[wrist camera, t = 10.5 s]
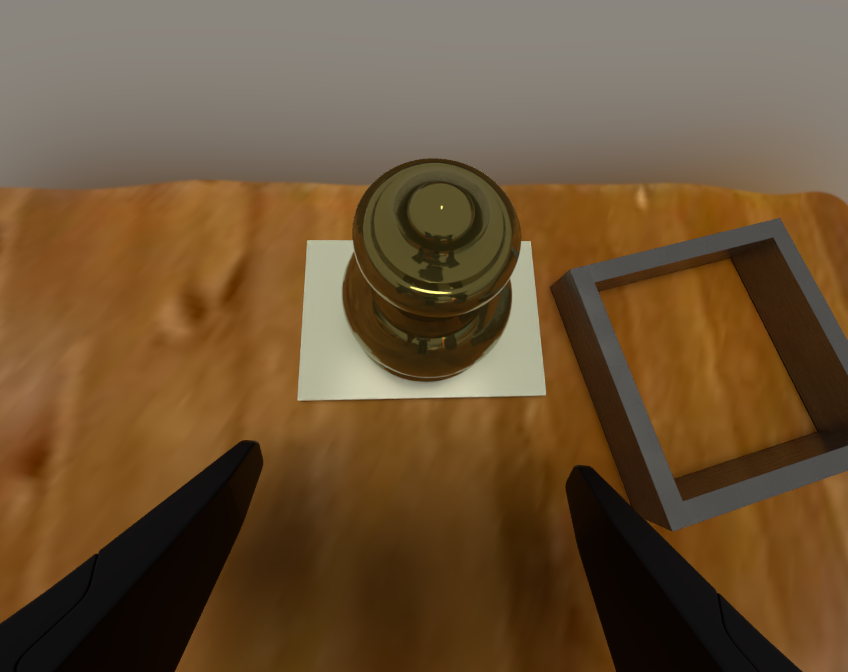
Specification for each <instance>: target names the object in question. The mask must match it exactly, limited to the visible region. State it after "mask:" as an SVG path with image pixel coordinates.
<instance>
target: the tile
mask: <svg viewBox="0 0 848 672" xmlns="http://www.w3.org/2000/svg"><path fill="white" fill-rule="evenodd" d="M353 251H354V249H353V240H307V255H306V271H305V287H304V304H303V320H302V336H301V352H300V369H299V385H298V401H324V400H373V399H421V398H469V397H518V396H545V395H546V387H545V378H544V368H543V358H542V348H541V339H540V329H539V319H538V309H537V300H536V290H535V280H534V271H533V261H532V251H531V241H521V249H520V254H519V258H518V261H517V264H516V267H515V269H514V271H513V274H512V275H511V277H510V279H511V284H512V309H511V314H510V318H509V321H508V324H507V327H506V329H505V331H504V333H503V335H502V337H501V338H500V340H499V342H498V343H497V344H496V346H495V347H494V348H493V349H492V350H491V351H490V352H489V354H487V355H486V356H485V357H484V358H483V359H482V360H480V361H479V362H478V363H476V364H475V365H473V366H472V367H471V368H469V369H468V370H466V371H464V372H463V373H461V374H459V375H457V376H454V377H452V378H449V379H447V380H444V381H440V382H435V383H413V382H408V381H404V380H401V379H399V378H396V377H394V376H392V375H390V374H389V373H387V372H385V371H384V370H383V369H381V368H380V367H379V366H378V365H377V364H376V363H374V362H373V361H372V360H371V359H370V358H369V357H368V356H367V354H366V353H365V352H364V351H363V349H362V348H361V346H360V345H359V343H358V342H357V341H356V339H355V338H354V336H353V335H352V333H351V331H350V329H349V327H348V324H347V322H346V319H345V316H344V312H343V307H342V299H341V290H342V281H343V275H344V272H345V268H346V265H347V263H348V261H349V259H350V256H351V255H352V253H353Z"/></svg>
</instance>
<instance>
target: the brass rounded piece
mask: <svg viewBox="0 0 848 672" xmlns="http://www.w3.org/2000/svg"><path fill="white" fill-rule="evenodd" d="M352 236H353V249H354V251H353V253H352V255H351V256H350V259H349V261H348V263H347V265H346V268H345V272H344V275H343V281H342V290H341V299H342V307H343V312H344V316H345V319H346V322H347V324H348V327H349V329H350V331H351V333H352V335H353V336H354V338H355V339H356V341H357V342H358V343H359V345H360V346H361V348H362V349H363V351H364V352H365V353H366V354H367V356H368V357H369V358H370V359H371V360H372V361H373V362H374V363H376V364H377V365H378V366H379V367H380V368H381V369H383V370H384V371H385V372H387V373H389V374H390V375H392V376H394V377H396V378H399V379H401V380H404V381H408V382H413V383H435V382H440V381H444V380H447V379H449V378H452V377H454V376H457V375H459V374H461V373H463V372H464V371H466V370H468V369H469V368H471V367H472V366H473V365H475V364H476V363H478V362H479V361H480V360H482V359H483V358H484V357H485V356H486V355H487V354H489V352H490V351H491V350H492V349H493V348H494V347H495V346H496V344H497V343H498V342H499V340H500V338H501V337H502V335H503V333H504V331H505V329H506V327H507V324H508V321H509V318H510V314H511V309H512V284H511V279H510V277H511V275H512V274H513V271H514V269H515V267H516V264H517V261H518V258H519V254H520V249H521V228H520V223H519V219H518V216H517V213H516V210H515V208H514V206H513V204H512V202H511V201H510V199H509V197H508V196H507V195H506V193H505V192H504V191H503V189H502V188H501V187H500V186H499V185H498V184H497V183H496V182H495V181H494V180H492V179H491V178H490V177H489V176H487V175H486V174H484V173H483V172H481V171H479V170H478V169H476V168H473V167H472V166H469V165H467V164H464V163H461V162H458V161H453V160H448V159H438V158H429V159H419V160H414V161H410V162H406V163H404V164H401V165H398V166H396V167H394V168H392V169H390V170H389V171H387V172H385V173H384V174H383V175H381V176H380V177H379V178H378V179H376V180H375V181H374V182H373V183H372V184H371V186H370V187H369V188H368V189H367V190H366V192H365V193H364V195H363V196H362V198H361V200H360V202H359V204H358V206H357V209H356V212H355V216H354V220H353V229H352Z"/></svg>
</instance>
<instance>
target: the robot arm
mask: <svg viewBox="0 0 848 672" xmlns="http://www.w3.org/2000/svg"><path fill="white" fill-rule="evenodd" d="M262 467H263V457H262V453H261V449H260V445H259V443H258V442H257V441H251V440H243V441H241V442H239V443H238V444H236V445H235V446H234V447H233V448H231V449H230V450H229V451H227V452H226V453H225V454H224V455H222V456H221V457H220V458H218V459H217V460H216V461H214V462H213V463H212V464H211V465H209V466H208V467H207V468H205V469H204V470H203V471H202V472H200V473H199V474H198V475H196V476H195V477H194V478H193V479H191V480H190V481H189V482H187V483H186V484H185V485H184V486H182V487H181V488H180V489H178V490H177V491H176V492H174V493H173V494H172V495H171V496H169V497H168V498H167V499H165V500H164V501H163V502H162V503H160V504H159V505H158V506H156V507H155V508H154V509H153V510H151V511H150V512H149V513H147V514H146V515H145V516H143V517H142V518H141V519H140V520H138V521H137V522H136V523H134V524H133V525H132V526H131V527H129V528H128V529H127V530H125V531H124V532H123V533H122V534H120V535H119V536H118V537H116V538H115V539H114V540H113V541H111V542H110V543H109V544H107V545H106V546H105V547H103V548H102V549H101V550H100V551H99V553H98V554H94V555H93V556H92V557H90V558H89V559H88V560H87V561H85V562H84V563H83V564H81V565H80V566H79V567H77V568H76V569H75V570H74V571H72V572H71V573H70V574H68V575H67V576H66V577H64V578H63V579H62V580H60V581H59V582H58V583H56V584H55V585H54V586H52V587H51V588H50V589H48V590H47V591H46V592H44V593H43V594H41V595H40V596H39V597H37V598H36V599H34V600H33V601H32V602H30V603H29V604H27V605H26V606H25V607H23V608H22V609H20V610H19V611H18V612H16V613H15V614H13V615H12V616H10V617H9V618H8V619H6V620H5V621H3V622H2V623H0V672H175V670H176V668H177V666H178V663H179V661H180V659H181V657H182V655H183V653H184V651H185V648H186V646H187V644H188V642H189V640H190V638H191V635H192V633H193V631H194V629H195V627H196V625H197V622H198V620H199V618H200V616H201V614H202V612H203V609H204V607H205V605H206V603H207V601H208V599H209V596H210V594H211V592H212V590H213V588H214V586H215V583H216V581H217V579H218V577H219V575H220V573H221V571H222V568H223V566H224V564H225V562H226V560H227V558H228V555H229V553H230V551H231V549H232V547H233V545H234V542H235V540H236V538H237V536H238V534H239V531H240V529H241V527H242V525H243V522H244V519H245V517H246V514H247V511H248V508H249V505H250V502H251V499H252V496H253V494H254V491H255V488H256V485H257V482H258V479H259V476H260V473H261V470H262ZM566 494H567V499H568V504H569V509H570V513H571V518H572V523H573V528H574V533H575V538H576V542H577V546H578V550H579V553H580V557H581V560H582V563H583V566H584V569H585V573H586V576H587V579H588V582H589V586H590V589H591V592H592V595H593V598H594V602H595V605H596V608H597V611H598V614H599V618H600V621H601V624H602V627H603V631H604V634H605V637H606V640H607V643H608V647H609V650H610V653H611V656H612V659H613V663H614V666H615V669H616V672H802V671H801V670H800V669H799V668H798V667H797V666H796V665H794V664H793V663H792V662H791V661H790V660H789V659H788V658H787V657H786V656H785V655H784V654H782V653H781V652H780V651H779V650H778V649H777V648H776V647H775V646H774V645H773V644H771V643H770V642H769V641H768V640H767V639H766V638H765V637H764V636H763V635H762V634H761V633H760V632H759V631H758V630H757V629H755V628H754V627H753V626H752V625H751V624H750V623H749V622H748V621H747V620H746V619H745V618H744V617H743V616H742V615H741V614H740V613H739V612H738V611H737V610H736V609H735V608H734V607H733V606H732V605H731V604H730V603H729V602H728V601H727V600H726V599H725V598H724V597H723V596H722V595H721V594H719V593H717V592H716V590H715V589H714V588H713V587H712V586H711V585H710V584H709V583H708V582H707V581H706V580H705V579H704V578H703V577H702V576H701V575H700V574H699V573H698V572H697V571H696V570H695V569H694V568H693V567H692V566H691V565H690V564H689V563H688V562H687V561H686V560H685V559H684V558H683V557H682V556H681V555H680V554H679V553H678V552H677V551H676V550H675V549H674V548H673V547H672V546H671V545H670V544H669V543H668V542H667V541H666V540H665V539H664V538H663V537H662V536H661V535H660V534H659V533H658V532H657V531H656V530H655V529H654V528H653V527H652V526H651V525H650V524H649V523H648V522H647V521H646V520H644V519H643V518H642V517H641V516H640V515H639V514H638V513H637V512H636V511H635V510H634V509H633V508H632V507H631V506H630V505H629V504H628V503H627V502H626V501H625V500H624V499H623V498H622V497H621V496H620V495H619V494H618V493H617V492H616V491H615V490H614V489H613V488H612V487H611V486H610V485H609V484H608V483H607V482H606V481H605V480H604V479H603V478H602V477H601V476H600V475H599V474H598V473H597V472H596V471H595V470H594V469H593V468H591V467H590V466H584V465H576V466H574V468H573V469H572V471H571V473H570V475H569V477H568V479H567V481H566Z"/></svg>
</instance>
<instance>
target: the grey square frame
mask: <svg viewBox="0 0 848 672" xmlns="http://www.w3.org/2000/svg"><path fill="white" fill-rule="evenodd" d="M727 258H731V259H732V261H733V263H734V265H735V267H736V269H737V271H738V273H739V275H740V277H741V279H742V281H743V283H744V285H745V287H746V289H747V291H748V293H749V295H750V297H751V299H752V301H753V303H754V305H755V307H756V309H757V311H758V313H759V315H760V317H761V319H762V321H763V323H764V325H765V327H766V329H767V331H768V333H769V335H770V336H771V338H772V340H773V342H774V344H775V346H776V348H777V350H778V352H779V354H780V356H781V358H782V360H783V362H784V364H785V366H786V368H787V370H788V372H789V374H790V376H791V378H792V380H793V382H794V384H795V386H796V388H797V390H798V392H799V394H800V396H801V398H802V400H803V402H804V404H805V406H806V408H807V410H808V412H809V414H810V416H811V418H812V420H813V422H814V424H815V426H816V428H817V430H818V432H816V433H813V434H810V435H807V436H804V437H801V438H798V439H795V440H792V441H789V442H786V443H783V444H780V445H777V446H774V447H771V448H768V449H765V450H762V451H759V452H756V453H752V454H749V455H746V456H743V457H740V458H737V459H734V460H731V461H728V462H725V463H722V464H719V465H716V466H713V467H710V468H707V469H704V470H701V471H698V472H695V473H692V474H689V475H686V476H683V477H680V478H677V479H674V478H673V476H672V473H671V471H670V468H669V466H668V464H667V461H666V459H665V456H664V454H663V451H662V449H661V446H660V444H659V441H658V439H657V436H656V434H655V431H654V429H653V426H652V424H651V421H650V419H649V416H648V414H647V411H646V409H645V407H644V404H643V402H642V399H641V397H640V394H639V392H638V389H637V387H636V384H635V382H634V379H633V377H632V374H631V372H630V369H629V367H628V364H627V362H626V359H625V357H624V354H623V352H622V350H621V347H620V345H619V342H618V340H617V337H616V335H615V332H614V330H613V327H612V325H611V322H610V320H609V317H608V315H607V312H606V310H605V307H604V305H603V302H602V300H601V298H600V295H599V293H598V291H602V290H606V289H610V288H614V287H618V286H622V285H626V284H629V283H633V282H637V281H641V280H645V279H649V278H653V277H657V276H661V275H665V274H669V273H672V272H676V271H680V270H684V269H688V268H692V267H696V266H700V265H704V264H708V263H712V262H716V261H719V260H723V259H727ZM551 290H552V293H553V296H554V298H555V301H556V304H557V306H558V309H559V312H560V314H561V317H562V320H563V322H564V325H565V328H566V330H567V333H568V336H569V338H570V341H571V344H572V347H573V349H574V352H575V355H576V357H577V360H578V363H579V365H580V368H581V371H582V373H583V376H584V379H585V381H586V384H587V387H588V389H589V392H590V395H591V397H592V400H593V403H594V406H595V408H596V411H597V414H598V416H599V419H600V422H601V424H602V427H603V430H604V432H605V435H606V438H607V440H608V443H609V446H610V448H611V451H612V454H613V457H614V459H615V462H616V465H617V467H618V470H619V473H620V475H621V478H622V481H623V483H624V486H625V489H626V491H627V494H628V497H629V499H630V502H631V505H632V507H633V509H634V510H635V511H636V512H637V513H638V514H639V515H640V516H641V517H642V518H644V519H646V520H648V521H650V522H653V523H655V524H657V525H659V526H662V527H664V528H666V529H668V530H670V531H675V530H678V529H681V528H684V527H687V526H690V525H693V524H695V523H698V522H701V521H704V520H707V519H710V518H713V517H716V516H718V515H721V514H724V513H727V512H730V511H733V510H736V509H739V508H741V507H744V506H747V505H750V504H753V503H756V502H759V501H761V500H764V499H767V498H770V497H773V496H776V495H779V494H782V493H784V492H787V491H790V490H793V489H796V488H799V487H802V486H805V485H807V484H810V483H813V482H816V481H819V480H822V479H825V478H828V477H830V476H833V475H836V474H839V473H842V472H845V471H848V340H847V339H846V337H845V335H844V333H843V331H842V330H841V328H840V326H839V324H838V322H837V321H836V319H835V317H834V315H833V313H832V311H831V310H830V308H829V306H828V304H827V302H826V301H825V299H824V297H823V295H822V293H821V292H820V290H819V288H818V286H817V284H816V283H815V281H814V279H813V277H812V275H811V273H810V272H809V270H808V268H807V266H806V264H805V263H804V261H803V259H802V257H801V255H800V254H799V252H798V250H797V248H796V246H795V244H794V243H793V241H792V239H791V237H790V235H789V234H788V232H787V230H786V228H785V226H784V225H783V223H782V221H781V219H780V218H778V219H774V220H770V221H766V222H762V223H758V224H754V225H750V226H745V227H741V228H737V229H733V230H729V231H725V232H721V233H717V234H713V235H709V236H705V237H701V238H697V239H692V240H688V241H684V242H680V243H676V244H672V245H668V246H664V247H660V248H656V249H652V250H648V251H644V252H640V253H635V254H631V255H627V256H623V257H619V258H615V259H611V260H607V261H603V262H599V263H595V264H591V265H587V266H582V267H578V268H574V269H570V270H569V271H568V272H567V273H566V274H564V275H563V276H562V277H561V278H560V279H559V280H558V281H556V282H555V283H554V284H553V285H552V286H551Z"/></svg>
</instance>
